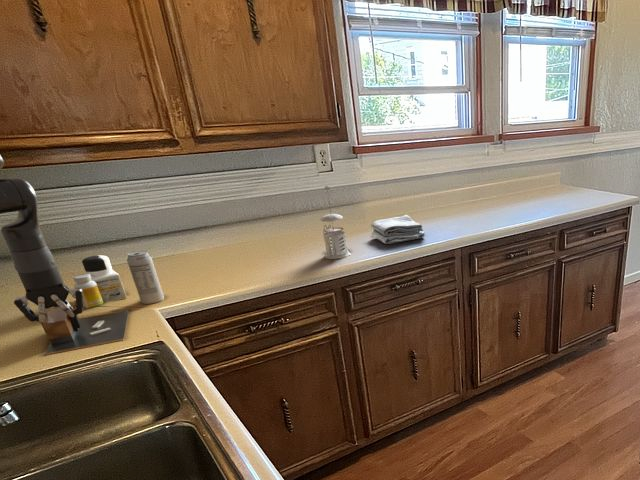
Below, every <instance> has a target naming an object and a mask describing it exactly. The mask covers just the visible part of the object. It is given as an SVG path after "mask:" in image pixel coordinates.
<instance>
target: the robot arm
mask: <svg viewBox="0 0 640 480" xmlns="http://www.w3.org/2000/svg"><path fill="white" fill-rule="evenodd" d="M4 166H5V161H4V159H3V156H2V155H1V154H0V170H1V169H3V168H4ZM37 196H38V195H37V193H36V191H35V189H34V187H33V185H31V183H29V182H28V181H27V180H26V179H24V178H22V177H17V176H16V177H7V178H0V215H2V214H8V213H13V212H17V215H16V216H17V217H16V219H14V220H13V221H10V222H8V223H6V224H3V225H2V226H1V227H0V233H1V236H2V238H3V240H4V242H5V245H6V246H7V249H8V251H9V254H10V257H11V260H12V264H13V267H14V269H15V271H16V273H17V274H18V277H19V279H20V281H21V283H22V286H23V288H24V290H25V295H24V296H21V297H16V298H15V300H13V304H14V305H15V306H16V307H17V309H19V311H20V312H21V313H22V314H23V316H24V317H25V318H27V320H28V321H29V322H32V323H33V322H39V323H40V324H41V326H42V328H43V331H44V333H45V334H46V335H47V333H46V331H45V329H44V327H43V322H44V320H45V318H46V317H47V315H48V309H51V308H61V309H62V310H63V311H65V312H66V313H67V314H68V316H69V317H70V318H69V319H70V321H71V324H72V326H73V328H74V331H78V330H79V328H80V325H81V324H80V322H79V319H78V318H79V317H78V315H79V314H82V313H83V311H84V308H83V290H82V289H81V288H78V289H74V288H69V287H68V286H67V285H66V284H65V283H64V279H63V277H62V275H61V272H60V270H59V268H58V265H57V263H56V260H55V258H54V256H53V254H52V251H51V250H50V249H49V247H48V244H47V242H46V240H45V237H44V235H43V232H42V229H41V226H40V217H39V207H38V197H37ZM69 294H70V295H71V297H72V298H73V299H75V308H73V306H72V305H71V303H70V302H69V301H68V300H67V298H68V296H69ZM29 302H31V303H33V304H35V305H36V306H37V310H38V311H37V312H38V314H36V313H35V311H34V310H33V309H32V308H31V307H30V306H29Z"/></svg>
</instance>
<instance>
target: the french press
mask: <svg viewBox="0 0 640 480" xmlns="http://www.w3.org/2000/svg"><path fill="white" fill-rule="evenodd" d="M324 190H325V191H326V192H327V193H329V190H331V188H330V186H328V185H326V186H324ZM327 199H328V205H329V206H331V204H330V195H329V194H327ZM329 211H330V213H327V214H325V215H323V216H321V218H320V221H321V222H325V223H330V222H331V223H332V226H331V224H328V227H327V226H326V225H323V231H322V235H323V240H324V246H325V252H326V253H325V255H323V257H324V258H325V259H331V260H337V259H344V258H347V257H350V256H351V253H350V251H348V246H347V239H346V232H345V231H344V228H343V227H342V226H334V222H338V221H341V220H344V219H343V218H344V216H342V215H340V214H338V213H333V212H332V208H331V207H329ZM349 255H350V256H349Z"/></svg>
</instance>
